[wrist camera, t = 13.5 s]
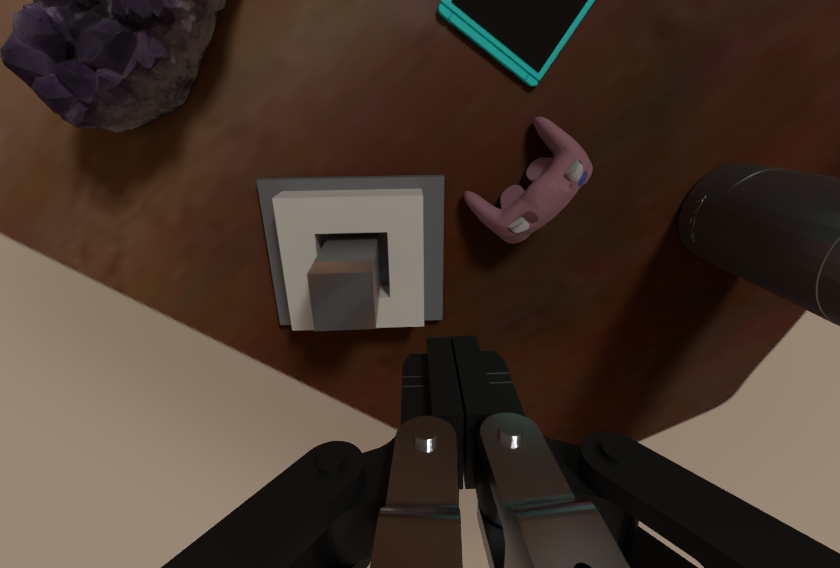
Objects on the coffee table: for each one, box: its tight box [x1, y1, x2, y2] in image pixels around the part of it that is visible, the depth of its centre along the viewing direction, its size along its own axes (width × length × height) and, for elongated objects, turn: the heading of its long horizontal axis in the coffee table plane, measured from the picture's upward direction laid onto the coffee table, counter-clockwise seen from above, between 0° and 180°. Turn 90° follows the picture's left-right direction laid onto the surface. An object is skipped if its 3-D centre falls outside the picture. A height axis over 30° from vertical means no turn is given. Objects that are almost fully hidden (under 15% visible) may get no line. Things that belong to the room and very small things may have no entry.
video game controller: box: [464, 117, 592, 244], centre depth 34 cm, size 10×5×7 cm, turn 137°
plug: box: [307, 232, 381, 331], centre depth 33 cm, size 4×4×10 cm
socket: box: [257, 175, 444, 331], centre depth 37 cm, size 16×14×4 cm
